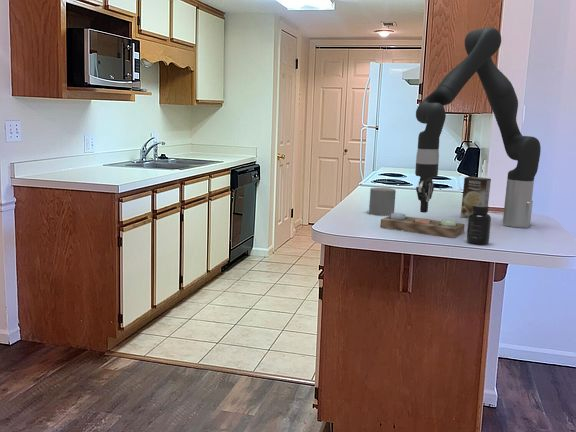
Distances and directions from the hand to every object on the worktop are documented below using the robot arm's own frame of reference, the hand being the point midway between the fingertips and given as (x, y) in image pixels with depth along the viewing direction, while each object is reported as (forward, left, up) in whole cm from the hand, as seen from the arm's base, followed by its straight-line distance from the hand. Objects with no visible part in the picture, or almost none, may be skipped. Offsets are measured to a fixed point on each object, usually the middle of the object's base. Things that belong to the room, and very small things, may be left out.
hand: (423, 212), depth 200 cm
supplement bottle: (-21, +8, -7) cm, 23 cm away
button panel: (0, 0, -6) cm, 6 cm away
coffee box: (-8, -39, -7) cm, 40 cm away
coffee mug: (+25, -23, -7) cm, 35 cm away
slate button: (+9, 0, -5) cm, 10 cm away
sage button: (-9, 0, -5) cm, 10 cm away
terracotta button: (0, 0, -6) cm, 6 cm away
